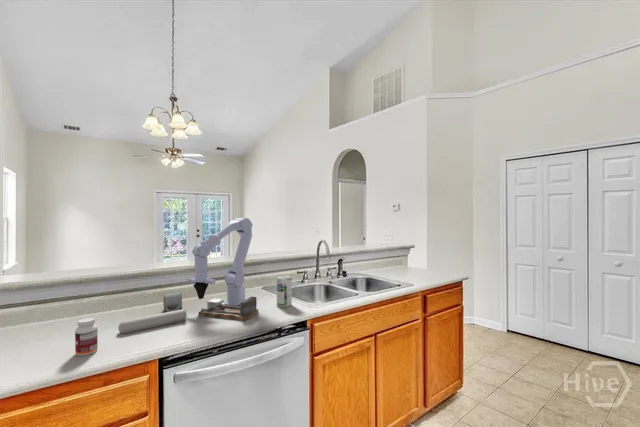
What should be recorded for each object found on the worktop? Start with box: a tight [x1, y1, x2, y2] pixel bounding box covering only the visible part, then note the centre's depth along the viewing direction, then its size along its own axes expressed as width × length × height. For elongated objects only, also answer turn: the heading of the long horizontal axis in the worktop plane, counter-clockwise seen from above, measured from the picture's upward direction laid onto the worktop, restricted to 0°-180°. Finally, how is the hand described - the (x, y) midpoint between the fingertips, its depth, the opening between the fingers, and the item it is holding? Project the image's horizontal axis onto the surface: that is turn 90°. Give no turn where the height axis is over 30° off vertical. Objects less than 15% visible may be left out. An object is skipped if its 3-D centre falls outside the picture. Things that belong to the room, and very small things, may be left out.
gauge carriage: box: [206, 297, 228, 310], centre depth 153 cm, size 8×9×4 cm
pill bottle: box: [74, 317, 99, 357], centre depth 112 cm, size 6×6×11 cm
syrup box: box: [276, 275, 293, 309], centre depth 166 cm, size 6×6×14 cm
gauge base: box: [197, 296, 259, 322], centre depth 153 cm, size 24×12×8 cm, turn 73°
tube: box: [118, 308, 187, 335], centre depth 137 cm, size 5×5×25 cm
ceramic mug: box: [163, 291, 183, 312], centre depth 160 cm, size 11×8×8 cm
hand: (201, 298), depth 157 cm, fingers closed
